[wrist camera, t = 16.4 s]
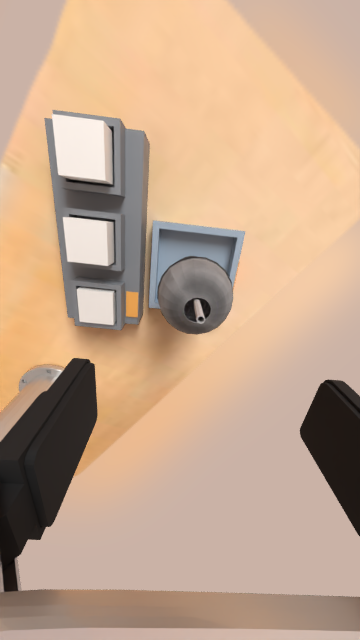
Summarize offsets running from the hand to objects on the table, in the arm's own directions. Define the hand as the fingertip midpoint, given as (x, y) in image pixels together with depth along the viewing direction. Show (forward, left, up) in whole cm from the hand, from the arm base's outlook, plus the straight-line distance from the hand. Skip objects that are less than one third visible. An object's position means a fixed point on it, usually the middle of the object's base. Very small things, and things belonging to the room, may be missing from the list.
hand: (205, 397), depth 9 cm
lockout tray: (0, 0, -25) cm, 25 cm away
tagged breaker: (-5, +12, -21) cm, 24 cm away
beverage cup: (0, 0, -25) cm, 25 cm away
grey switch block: (+3, +12, -25) cm, 28 cm away
